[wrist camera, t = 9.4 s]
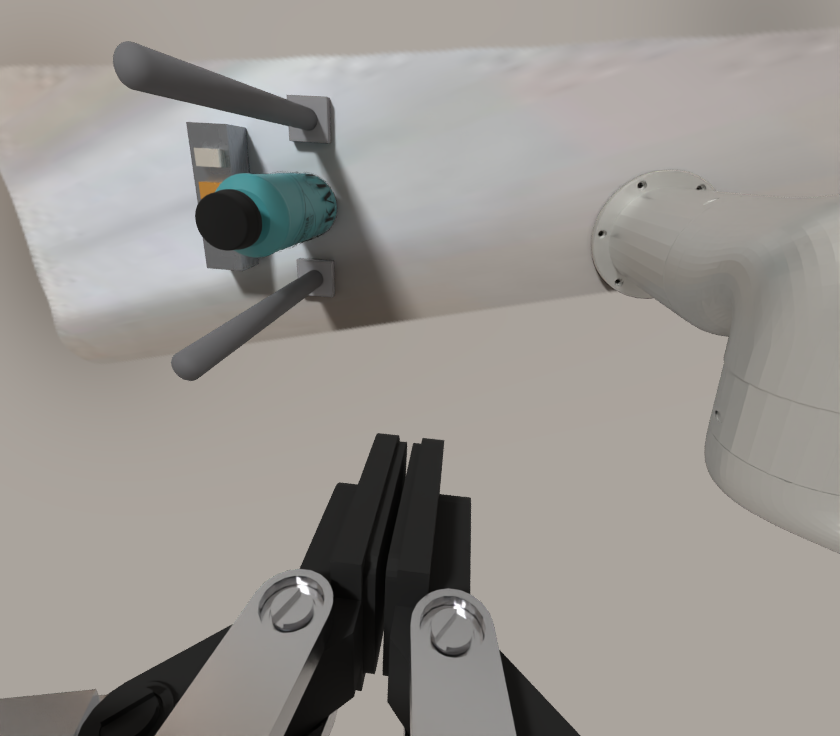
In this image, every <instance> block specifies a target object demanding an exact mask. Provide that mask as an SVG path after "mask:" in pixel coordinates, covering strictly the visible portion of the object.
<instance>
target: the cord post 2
mask: <svg viewBox="0 0 840 736" xmlns="http://www.w3.org/2000/svg"><path fill="white" fill-rule="evenodd" d="M297 273H298V279H296V280H295V281H293V282H291V283H290V284H288V285H286V286H285V287H283V288H282V289H280V290H278V291H277V292H275V293H273V294H272V295H270V296H269V297H267V298H265V299H264V300H262V301H260V302H259V303H257V304H256V305H254V306H252V307H251V308H249V309H247V310H246V311H244V312H243V313H241V314H239V315H238V316H236V317H235V318H233V319H231V320H230V321H228V322H226V323H225V324H223V325H222V326H220V327H218V328H217V329H215V330H213V331H212V332H210V333H209V334H207V335H205V336H204V337H202V338H200V339H199V340H197V341H196V342H194V343H192V344H191V345H189V346H187V347H186V348H184V349H183V350H181V351H179V352H178V353H176V354H175V355H174V356H173V357H172V361H171V364H172V368H173V370H174V372H175V373H176V374H177V375H178V376H179V377H181V378H182V379H184V380H189V381H193V380H196V379H198V378H199V377H201V376H202V375H203V374H204V373H206V372H207V371H208V370H210V369H211V368H212V367H214V366H215V365H216V364H218V363H219V362H220V361H222V360H223V359H224V358H226V357H227V356H228V355H230V354H231V353H232V352H234V351H235V350H236V349H238V348H239V347H240V346H242V345H243V344H244V343H246V342H247V341H248V340H250V339H251V338H252V337H253V336H255V335H256V334H257V333H259V332H260V331H261V330H263V329H264V328H265V327H267V326H268V325H269V324H271V323H272V322H273V321H275V320H276V319H277V318H279V317H280V316H281V315H283V314H284V313H285V312H287V311H288V310H289V309H291V308H292V307H293V306H294V305H296V304H297V303H298V302H300V301H301V300H302V299H304V298H305V297H306V296H308V295H311V296H323V297H333V296H334V295H335V284H334V261H330V260H317V259H304V258H299V259H297Z"/></svg>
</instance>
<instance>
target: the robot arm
mask: <svg viewBox="0 0 840 736" xmlns="http://www.w3.org/2000/svg"><path fill="white" fill-rule="evenodd" d="M638 183H641V184H642V186H641V187H640V188H638V187H637V185H638ZM698 186H699V187H700V188H699V190H696V189H697V187H698ZM600 231H602V232H603V233H602V235H601V236H599V235H598V233H599V232H600ZM591 251H592V259H593V261H594V264H595V267H596V269H597V271H598V272H599V274H600V276H601V277H602V278H603V279H604V280H605V281H606V282H607V283H608V284H609V285H610V286H611V287H612V288H613V289H615V290H617V291H619V292H620V293H623V294H625V295H627V296H631V297H635V298H645V299H649V298H655V299H656V300H658V301H659V302H660V303H662V304H663V305H665V306H666V307H667V308H669V309H671V310H672V311H673V312H674V313H676V314H677V315H679V316H680V317H682V318H683V319H685V320H686V321H688V322H689V323H691V324H692V325H694V326H695V327H697V328H699V329H701V330H703V331H706V332H709V333H712V334H716V335H721V336H728V337H729V338H728V343H727V347H726V351H725V355H724V366H723V370H722V374H721V378H720V382H719V386H718V390H717V394H716V398H715V402H714V406H713V410H712V414H711V418H710V422H709V426H708V431H707V435H706V442H705V462H706V466H707V469H708V472H709V474H710V475H711V477H712V479H713V480H714V482H715V483H716V484H717V486H718V487H719V488H720V489H721V490H722V491H723V492H724V493H725V494H726V495H727V496H728V497H730V498H731V499H732V500H733V501H735V502H736V503H738V504H739V505H741V506H742V507H743V508H745V509H747V510H748V511H750V512H751V513H753V514H755V515H757V516H759V517H761V518H763V519H764V520H766V521H768V522H770V523H772V524H774V525H776V526H778V527H780V528H782V529H785V530H787V531H789V532H791V533H793V534H796V535H798V536H800V537H803V538H805V539H807V540H809V541H811V542H814V543H816V544H818V545H821V546H823V547H825V548H828V549H830V550H832V551H835V552H837V553H839V554H840V194H836V195H828V196H819V197H775V196H763V195H751V194H740V193H728V192H717V191H716V190H715V189H714V188H713V187H712V185H711V184H710V183H708V182H707V181H706V180H704V179H703V178H701V177H700V176H697V175H695V174H692V173H690V172H686V171H679V170H661V171H654V172H650V173H647V174H644V175H641V176H639V177H637V178H635V179H633V180H631V181H630V182H628V183H626V184H625V185H624V186H622V187H621V188H620V189H619V190H617V191H616V192H615V193H614V194H613V195H612V196H611V198H610V199H609V200H608V201H607V202H606V204H605V205H604V207H603V208H602V210H601V211H600V213H599V215H598V217H597V220H596V222H595V224H594V228H593V232H592V238H591ZM617 279H619V281H618V282H617V283H615V281H616V280H617ZM443 449H444V440H435V439H427V438H423V439H422V443H421V444H419V443H413V447H412V451H411V457H410V460H409V465H408V469H407V474H406V457H407V442H400V438H399V435H389V434H380V433H378V434H377V435H376V437H375V440H374V443H373V445H372V448H371V451H370V453H369V456H368V459H367V462H366V464H365V467H364V470H363V473H362V475H361V478H360V481H359V483H358V485H355V484H348V483H338V484H337V485H336V487H335V489H334V491H333V494H332V496H331V498H330V500H329V503H328V505H327V507H326V510H325V512H324V514H323V516H322V519H321V521H320V523H319V526H318V528H317V530H316V533H315V535H314V537H313V539H312V542H311V544H310V546H309V549H308V551H307V553H306V556H305V558H304V560H303V563H302V565H301V567H300V569H295V570H287V571H285V572H282V573H279V574H277V575H275V576H273V577H272V578H270V579H269V580H267V581H266V582H264V583H263V584H262V586H261V587H260V588H259V589H258V590H257V591H256V592H255V594H254V595H253V597H252V598H251V599H250V601H249V602H248V604H247V605H246V607H245V608H244V609H243V611H242V612H241V614H240V615H239V617H238V618H237V619H236V621H235V622H234V624H232V625H230V626H229V627H227V628H225V629H223V630H221V631H219V632H217V633H216V634H214V635H212V636H210V637H208V638H206V639H205V640H203V641H201V642H199V643H197V644H195V645H194V646H192V647H190V648H188V649H186V650H185V651H182V652H181V653H179V654H177V655H175V656H173V657H171V658H170V659H168V660H166V661H164V662H162V663H160V664H159V665H157V666H155V667H153V668H151V669H149V670H147V671H146V672H144V673H142V674H140V675H138V676H136V677H135V678H133V679H131V680H129V681H127V682H125V683H124V684H123V685H121V686H119V687H118V688H116V689H115V690H113V691H112V692H110V693H109V694H107V695H98V693H97V690H96V689H92V690H83V691H72V692H64V693H54V694H43V695H33V696H23V697H13V698H3V699H0V736H329V735H330V733H331V730H332V727H333V725H334V722H335V718H336V714H337V709H338V708H340V707H341V706H342V705H344V704H345V703H346V702H348V701H349V700H350V699H351V698H353V697H354V694H355V690H358V691H362V687H363V682H364V677H365V673H371V674H375V671H376V667H377V662H378V657H379V652H380V646H381V641H382V636H383V631H384V644H383V675H385V676H388V703H389V705H390V706H391V708H392V710H393V711H394V712H395V714H396V716H397V717H398V719H399V720H400V722H401V723H402V724H403V726H404V733H403V736H580V735H579V734H578V733H577V731H575V729H574V728H573V727H572V726H571V725H570V724H569V723H568V722H567V721H566V720H565V719H564V718H563V717H562V716H561V715H560V713H559V712H557V711H556V709H555V708H554V707H553V706H552V705H551V704H550V703H549V702H548V701H547V700H546V699H545V698H544V697H543V695H542V694H541V693H540V692H539V691H538V690H537V689H536V688H535V687H534V686H533V685H532V684H531V683H530V682H529V681H528V680H527V679H526V678H525V676H524V675H523V674H522V673H521V672H520V671H519V670H518V669H517V668H516V667H515V666H514V665H513V664H512V663H511V662H510V661H509V659H508V658H507V657H506V656H505V655H504V654H503V653H502V652H501V651H500V650H499V647H498V642H497V638H496V632H495V627H494V624H493V621H492V618H491V615H490V613H489V611H488V610H487V609H486V607H485V606H484V605H483V604H482V602H480V601H479V600H478V599H476V598H475V597H474V596H472V595H471V594H470V553H471V551H470V550H471V498H469V497H460V496H451V495H442V494H440V483H441V471H442V459H443Z"/></svg>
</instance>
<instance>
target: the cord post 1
mask: <svg viewBox="0 0 840 736" xmlns="http://www.w3.org/2000/svg"><path fill="white" fill-rule="evenodd" d="M113 64H114V69H115V72H116V74H117V76H118V78H119V79H120V80H121V82H122V83H123V84H124V85H126V86H127V87H128V88H130V89H133V90H137V91H141V92H145V93H149V94H154V95H158V96H162V97H167V98H171V99H175V100H179V101H184V102H188V103H192V104H196V105H201V106H205V107H209V108H214V109H218V110H222V111H226V112H231V113H235V114H239V115H243V116H248V117H252V118H256V119H260V120H265V121H269V122H273V123H278V124H282V125H286V126H289V141H299V142H317V143H331V132H330V98H328V97H321V96H300V95H287V99H284V98H281V97H279V96H276V95H273V94H271V93H268V92H265V91H262V90H260V89H257V88H254V87H252V86H249V85H246V84H244V83H241V82H238V81H236V80H233V79H230V78H228V77H225V76H222V75H220V74H217V73H214V72H212V71H209V70H206V69H204V68H201V67H198V66H196V65H193V64H190V63H188V62H185V61H182V60H179V59H177V58H174V57H171V56H169V55H166V54H163V53H161V52H158V51H155V50H153V49H150V48H147V47H145V46H142V45H139V44H137V43H134V42H129V41H127V42H123V43H121V44H119V45H118V46H117V48H116V49H115V52H114V56H113Z"/></svg>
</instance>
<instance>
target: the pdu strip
mask: <svg viewBox="0 0 840 736" xmlns="http://www.w3.org/2000/svg"><path fill="white" fill-rule="evenodd" d="M186 124H187V131H188V138H189V145H190V151H191V158H192V165H193V172H194V179H195V186H196V193H197V200H198V203H199V202H200V200H201V199H202V198H203V197H205V196H206V195H208V194H210V193H214V192H215V191H216V189H217V188H218V186H219V185H220V184H221V183H222V182H223V181H224V180H225V179H227V178H228V177H230V176H232V175H235V174H240V173H250V168H249V158H248V147H247V137H246V128H244V127H238V126H233V125H228V124H212V123H193V122H186ZM203 242H204V249H205V256H206V263H207V268H213V269H226V270H238V271H243V270H245V269H248V268H250V267H252V266H255V265H257V264H259V263H258V257H248V256H244V255H242V254H239V253H237V252H236V251H234V250H231V251H226V250H220V249H217V248H215V247H213V246H212V245H210V244H209V243H208V242H207V241H206V240H205V239H204V238H203Z"/></svg>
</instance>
